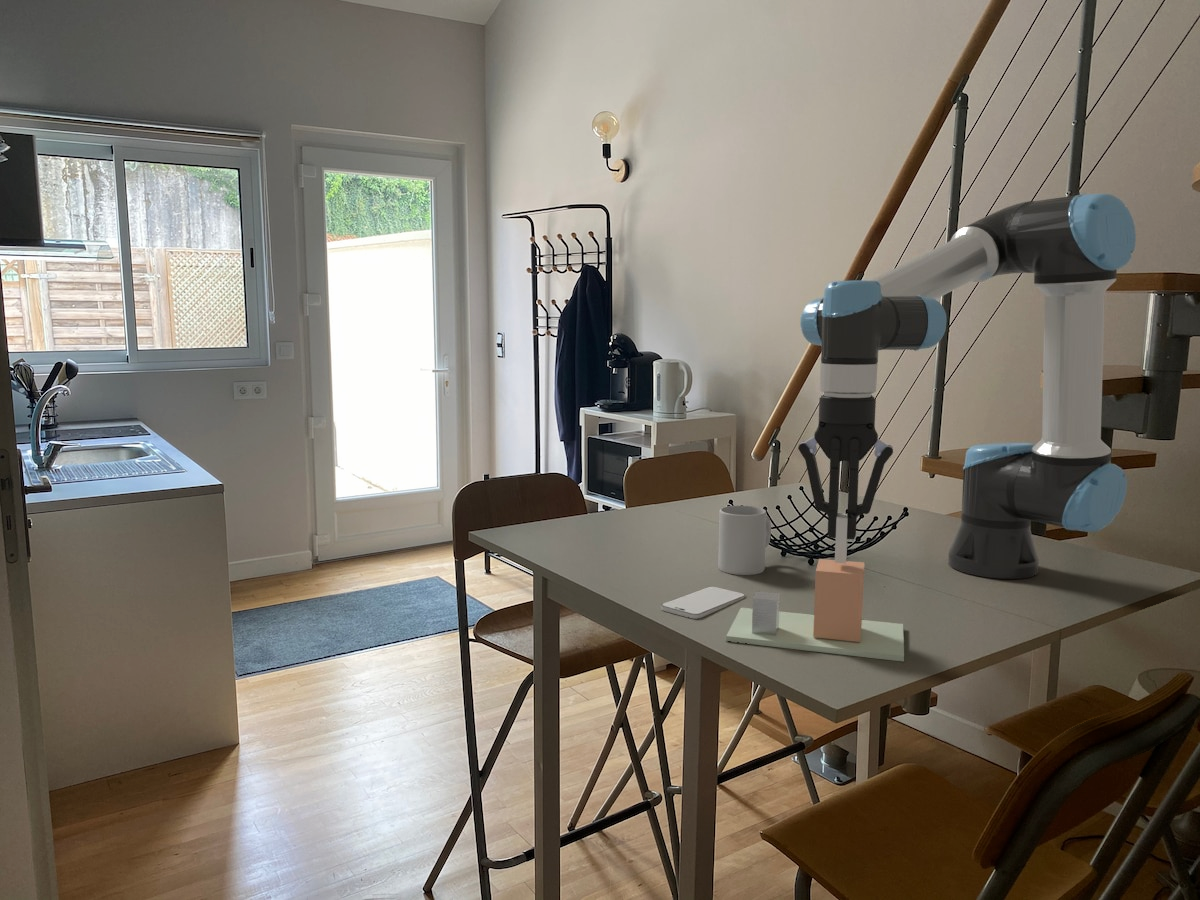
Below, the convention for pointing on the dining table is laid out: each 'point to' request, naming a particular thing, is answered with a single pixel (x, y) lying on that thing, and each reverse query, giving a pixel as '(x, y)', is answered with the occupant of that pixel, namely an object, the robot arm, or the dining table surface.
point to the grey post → (765, 613)
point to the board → (798, 634)
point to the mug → (743, 539)
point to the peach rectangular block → (838, 600)
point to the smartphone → (702, 602)
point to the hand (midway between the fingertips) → (840, 560)
